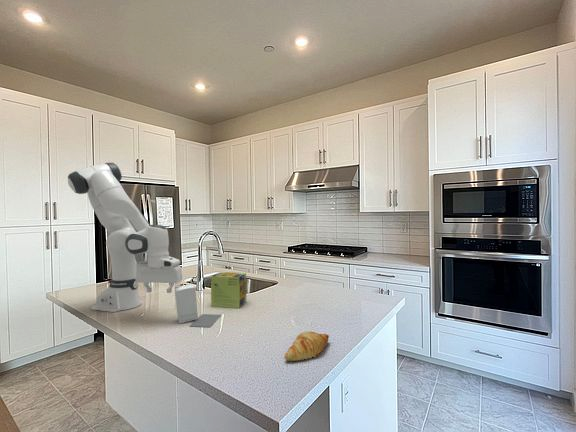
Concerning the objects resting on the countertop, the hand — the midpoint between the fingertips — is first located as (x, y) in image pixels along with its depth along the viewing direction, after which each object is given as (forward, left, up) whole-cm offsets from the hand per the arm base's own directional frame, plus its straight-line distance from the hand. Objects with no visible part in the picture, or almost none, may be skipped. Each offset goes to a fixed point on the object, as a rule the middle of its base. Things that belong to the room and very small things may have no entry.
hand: (159, 292), depth 134 cm
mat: (+21, 0, -12) cm, 25 cm away
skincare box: (+13, 0, -12) cm, 18 cm away
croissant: (+67, -24, -13) cm, 72 cm away
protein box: (+25, +23, -12) cm, 36 cm away
